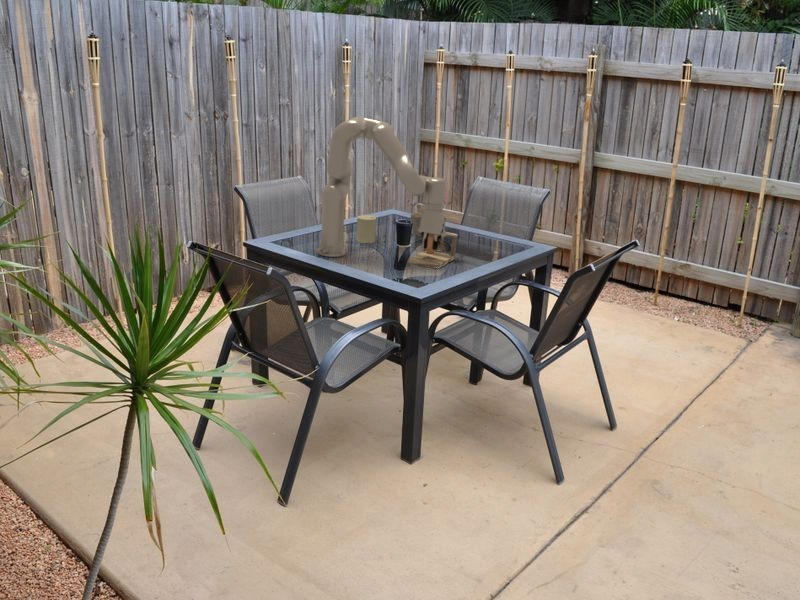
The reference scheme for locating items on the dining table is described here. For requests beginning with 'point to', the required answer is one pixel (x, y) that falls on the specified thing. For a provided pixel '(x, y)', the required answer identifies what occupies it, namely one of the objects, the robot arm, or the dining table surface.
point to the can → (366, 229)
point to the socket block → (436, 255)
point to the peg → (430, 244)
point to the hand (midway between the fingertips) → (430, 247)
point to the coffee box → (440, 244)
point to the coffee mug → (416, 222)
